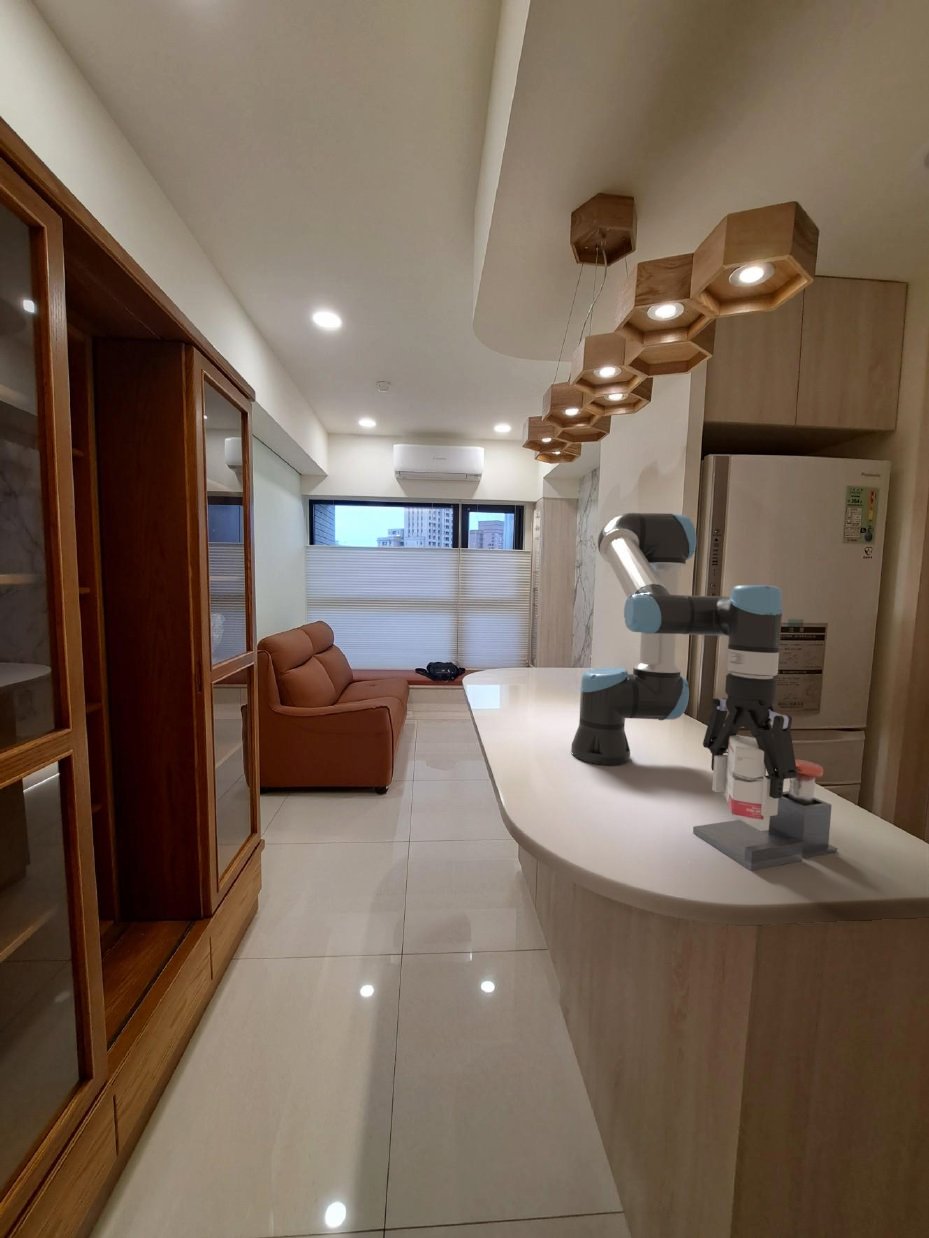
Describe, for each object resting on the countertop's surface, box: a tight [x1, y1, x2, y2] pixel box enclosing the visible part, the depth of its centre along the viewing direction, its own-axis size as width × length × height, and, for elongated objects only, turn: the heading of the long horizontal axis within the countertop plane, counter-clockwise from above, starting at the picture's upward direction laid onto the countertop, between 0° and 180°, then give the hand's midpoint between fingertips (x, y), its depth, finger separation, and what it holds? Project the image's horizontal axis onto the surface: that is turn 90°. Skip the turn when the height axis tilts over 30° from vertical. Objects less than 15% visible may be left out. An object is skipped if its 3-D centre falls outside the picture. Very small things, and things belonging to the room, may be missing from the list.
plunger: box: [788, 758, 824, 806], centre depth 83 cm, size 6×6×9 cm
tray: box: [692, 819, 803, 871], centre depth 82 cm, size 12×11×3 cm
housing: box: [761, 790, 838, 859], centre depth 83 cm, size 8×8×8 cm
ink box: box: [724, 734, 767, 820], centre depth 82 cm, size 9×5×12 cm, turn 158°
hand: (742, 801), depth 82 cm, fingers closed on ink box, 9 cm apart
